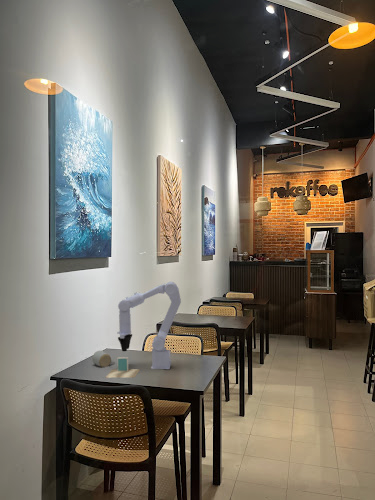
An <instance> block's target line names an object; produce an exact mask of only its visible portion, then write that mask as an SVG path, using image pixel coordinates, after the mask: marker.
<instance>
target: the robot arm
mask: <svg viewBox="0 0 375 500" xmlns="http://www.w3.org/2000/svg"><path fill="white" fill-rule="evenodd" d="M179 289H180V288H179V287H178V286H177V284H176V283H175V282H174V281H168V282H167V283H162V284H160V285H157V286H155V287H153V288H151V289H149V290H147V291H144V293H141V292H134V293H133V295H131V296H129V297H128V296H127V297H125V299H122V300H121V301H119V303H118V306H117V307H118V310H119V311H118V312H119V315H118V319H119V322H118V323H119V324H118V326H119V331H117V334H118V335H119V336H118V337H117V341H119V343H120V347H121V351H122V352H127V351H128V350H129V349H130V344H131V339H132V338H133V334H132V325H131V323H132V321H131V319H132V318H131V309H133V308H135V307H137V306H139V305H142V304H143V303H144V302H145V300H146V299H148V298H151V297H154V296H155V295H158V294H166V295H167V296H168V297H169V300H170V305H169V307H168V310H167V312H166V315H165V317H164V318H163V321H162V323H161V325H160V328H159V331H158V333H157V335H156V336H154V337H153V340H152V342H151V343H152V344H151V347H152V349H151V360H152V361H151V362H152V363H151V364H152V365H151V367H150V369H153V370H154V369H155V370H156V369H157V370H159V369H163V370H170V368H171V366H172V359H171V350H170V349H167V347H165V344H166V339H167V338H168V337H167V336H168V335H169V334H168V333H169V331H170V329H171V327H172V324H173V322H174V320H175V316H176V315H177V312H178V310H179V308H180V306H181V302H182V301H181V299H182V298H181V295H180V290H179Z"/></svg>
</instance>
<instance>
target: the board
mask: <svg viewBox="0 0 375 500" xmlns="http://www.w3.org/2000/svg"><path fill="white" fill-rule="evenodd" d="M140 370H141V369H139V368H135V369H134V368H132V369H130V368H128V371H118V368H115V369H112V370H110V371H109V373H108V374H107V375H105V377H104V379H105V378H106V379H107V378H108V379H109V378H110V379H111V378H116V379H117V378H118V379H119V378H121V379H123V378H129V379H130V378H131V379H133V378H136V376H137V374H138V373H139V372H140Z"/></svg>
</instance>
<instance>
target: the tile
mask: <svg viewBox="0 0 375 500" xmlns="http://www.w3.org/2000/svg"><path fill="white" fill-rule="evenodd" d="M116 360H117V361H116V362H117V369H118V371H128V369H129V357H128V356H123V357H117V358H116Z"/></svg>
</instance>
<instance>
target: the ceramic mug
mask: <svg viewBox="0 0 375 500" xmlns="http://www.w3.org/2000/svg"><path fill="white" fill-rule="evenodd" d="M92 362H93V364H94V365H95V366H98V367H100V368H106V367H109V366H110V365H115V363H116V362H115V361H114V360H112V357H111V355H110V354H108V353H107V352H105V351H103V350H97V351H96V352H94V353H93V355H92Z"/></svg>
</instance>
